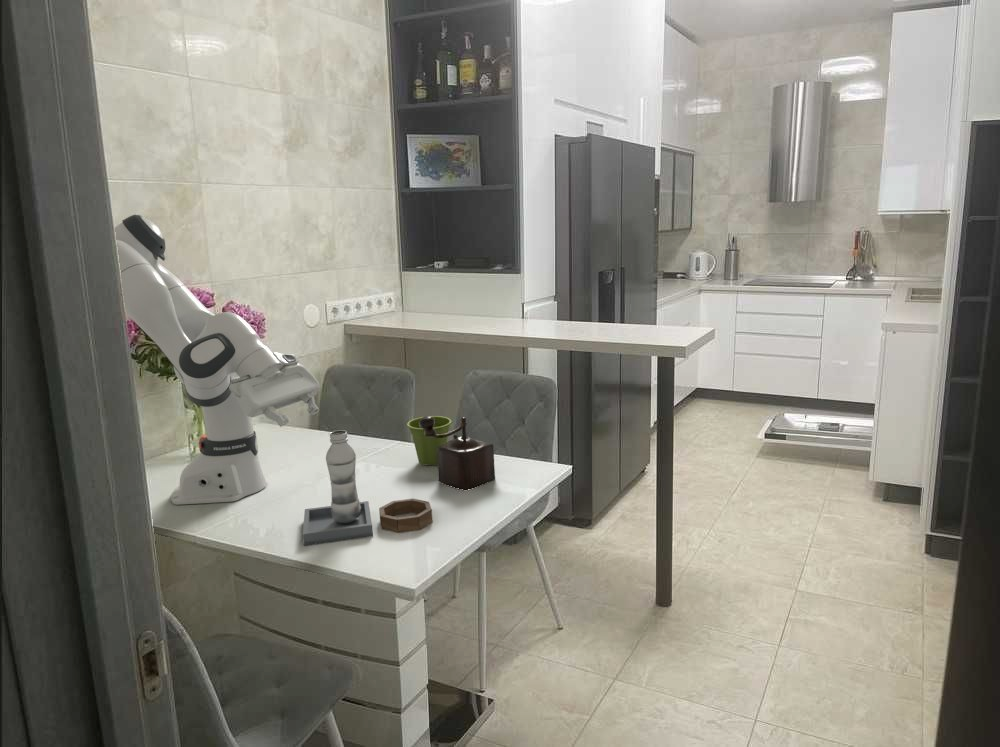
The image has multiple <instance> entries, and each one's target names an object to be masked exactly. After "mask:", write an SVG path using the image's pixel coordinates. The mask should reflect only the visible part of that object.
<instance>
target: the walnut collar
mask: <svg viewBox="0 0 1000 747" xmlns="http://www.w3.org/2000/svg"><path fill="white" fill-rule="evenodd" d="M378 512H379V521H380V522H379V524H380V527H381V530H384V531H387V532H388V531H389V532H392V533H396V534H402V533H409V532H417V531H421V530H422V529H424V528H425V527H428V526H429V525H430V524H432V523H433V522H434V520H433V509H432V506H431V504H430V501H427V500H422V499H418V498H407V499H400V500H399V499H398V500H393V501H390V502H388V503H386V504H384V505H382V506H380V507H379V508H378ZM406 514H407V515H408V514H415V515H409V516H402V517H397V516H400V515H406Z"/></svg>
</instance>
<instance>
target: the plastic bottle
mask: <svg viewBox="0 0 1000 747" xmlns="http://www.w3.org/2000/svg"><path fill="white" fill-rule="evenodd" d="M329 442H330V443H331V444H330V446H329V448H327V451H326V454H325V463H326V466H327V470H328V475H329V479H330V487H331V503H330V506H331V514H332V518H333V519H334V520H335V522H337V523H350V522H354V521H356V520H357V519H358V518H359V516H360V513H361V506H360V502H361V501H360V499H359V496H358V491H357V490H358V489H357V484H356V483H357V482H356V462H357V461H356V458H357V456H356V452H355V449H354V448H353V447H352V445H350V444H349V443H348V442H349V437H348V432H347V430H344V429H343V430H339V429H338V430H333V431H331V432H330V433H329Z"/></svg>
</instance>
